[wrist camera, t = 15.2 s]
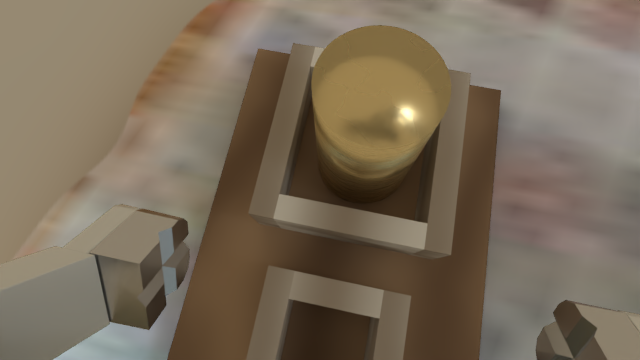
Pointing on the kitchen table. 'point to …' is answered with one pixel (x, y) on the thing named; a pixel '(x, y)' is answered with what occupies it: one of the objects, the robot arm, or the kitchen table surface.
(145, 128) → the kitchen table surface
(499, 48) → the kitchen table surface
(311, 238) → the socket board
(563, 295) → the kitchen table surface
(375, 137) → the gold metal cylinder
